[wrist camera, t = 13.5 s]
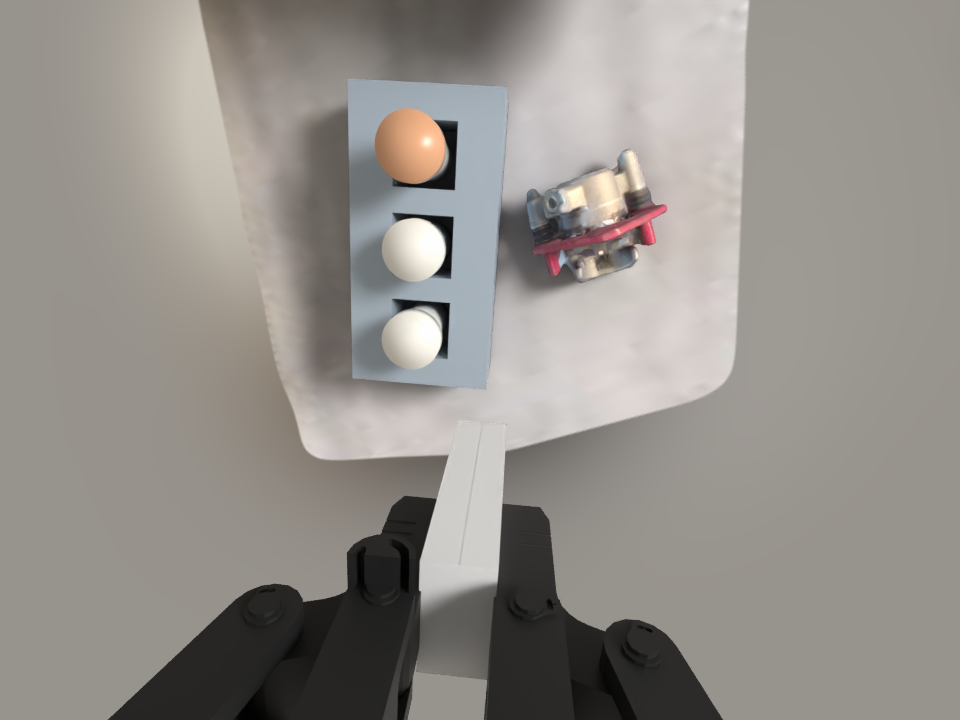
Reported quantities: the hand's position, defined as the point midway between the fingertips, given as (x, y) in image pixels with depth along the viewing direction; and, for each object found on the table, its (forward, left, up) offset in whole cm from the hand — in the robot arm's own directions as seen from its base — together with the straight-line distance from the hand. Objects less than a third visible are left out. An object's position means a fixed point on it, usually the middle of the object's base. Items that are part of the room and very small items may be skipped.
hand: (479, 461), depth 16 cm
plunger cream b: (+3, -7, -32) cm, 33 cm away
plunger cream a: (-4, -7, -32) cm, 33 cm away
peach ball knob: (-11, -7, -30) cm, 33 cm away
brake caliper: (-7, +7, -35) cm, 36 cm away
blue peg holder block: (-4, -7, -34) cm, 35 cm away
